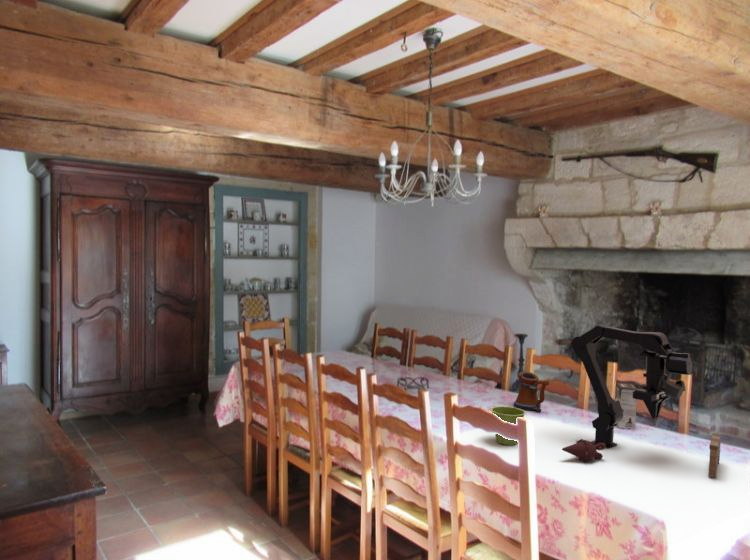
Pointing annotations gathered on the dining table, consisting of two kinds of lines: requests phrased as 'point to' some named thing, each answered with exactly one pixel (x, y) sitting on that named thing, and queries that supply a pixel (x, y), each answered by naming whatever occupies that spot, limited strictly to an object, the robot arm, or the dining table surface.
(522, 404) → the mug
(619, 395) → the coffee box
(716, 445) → the brown flat wooden slab
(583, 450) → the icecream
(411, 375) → the dining table surface
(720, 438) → the gate post
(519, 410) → the plant pot
